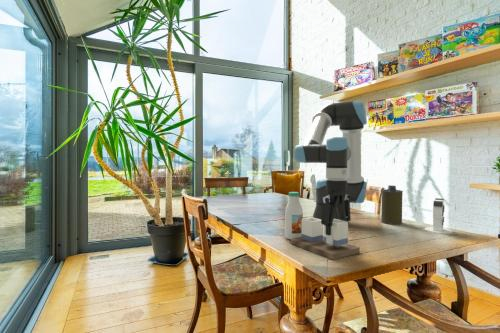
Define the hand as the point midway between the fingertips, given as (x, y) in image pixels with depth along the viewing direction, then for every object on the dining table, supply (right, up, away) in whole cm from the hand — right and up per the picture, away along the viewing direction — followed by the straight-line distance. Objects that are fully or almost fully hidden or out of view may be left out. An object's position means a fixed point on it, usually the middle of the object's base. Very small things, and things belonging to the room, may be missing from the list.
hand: (336, 241), depth 105 cm
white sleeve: (0, 0, 0) cm, 0 cm away
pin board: (-3, -4, +5) cm, 7 cm away
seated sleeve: (-7, -2, +10) cm, 12 cm away
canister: (+45, -3, +49) cm, 66 cm away
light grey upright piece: (+58, -3, +31) cm, 66 cm away
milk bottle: (-13, -3, +19) cm, 23 cm away
